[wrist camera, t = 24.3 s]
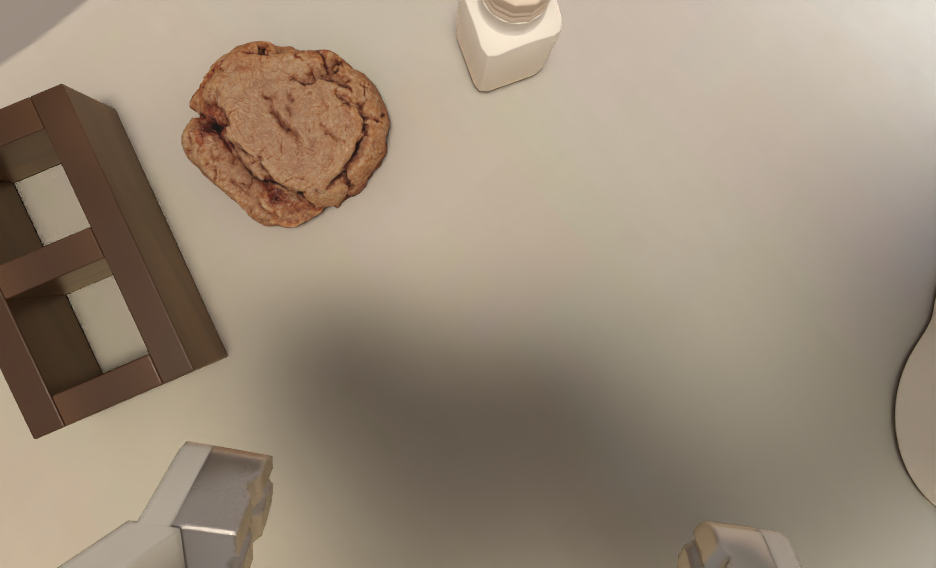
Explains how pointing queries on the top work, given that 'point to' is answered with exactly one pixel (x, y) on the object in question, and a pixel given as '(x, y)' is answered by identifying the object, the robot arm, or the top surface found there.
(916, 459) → the robot arm
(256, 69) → the cookie
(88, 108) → the spice caddy
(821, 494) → the top surface
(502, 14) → the pepper shaker
